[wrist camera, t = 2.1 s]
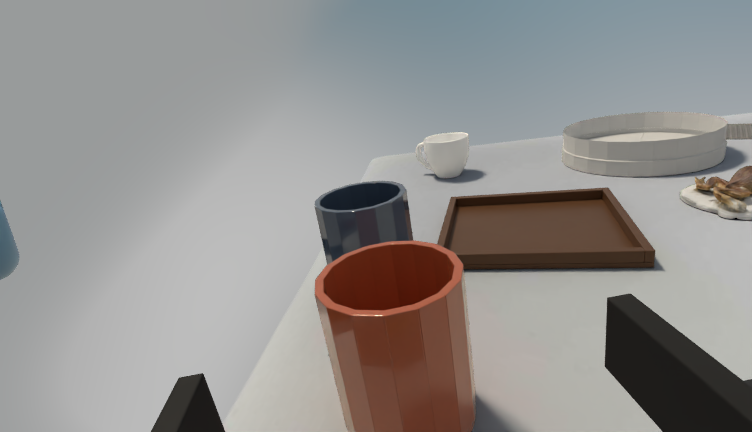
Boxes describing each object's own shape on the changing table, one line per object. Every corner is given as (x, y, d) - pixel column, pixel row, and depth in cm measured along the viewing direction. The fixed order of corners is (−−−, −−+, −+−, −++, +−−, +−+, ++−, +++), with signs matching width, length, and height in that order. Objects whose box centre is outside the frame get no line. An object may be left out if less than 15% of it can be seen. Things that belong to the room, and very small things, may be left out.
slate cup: (323, 314, 38) (299, 214, 35) (350, 270, 46) (333, 184, 42) (410, 317, 36) (393, 209, 33) (424, 270, 43) (412, 178, 40)
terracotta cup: (328, 458, 24) (289, 313, 21) (367, 361, 32) (343, 242, 28) (472, 478, 22) (455, 317, 18) (478, 368, 29) (467, 238, 26)
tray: (435, 269, 43) (433, 255, 42) (452, 208, 59) (450, 196, 58) (654, 267, 37) (655, 250, 37) (607, 200, 53) (608, 187, 52)
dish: (728, 179, 53) (734, 140, 51) (546, 174, 66) (546, 143, 64) (721, 138, 69) (726, 108, 67) (576, 141, 82) (577, 115, 80)
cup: (460, 182, 69) (456, 142, 67) (408, 180, 75) (403, 143, 73) (478, 168, 75) (475, 131, 73) (428, 168, 81) (424, 133, 78)
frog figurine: (738, 176, 53) (743, 147, 52) (849, 205, 42) (859, 168, 41) (654, 193, 53) (657, 163, 51) (745, 226, 41) (751, 190, 40)
